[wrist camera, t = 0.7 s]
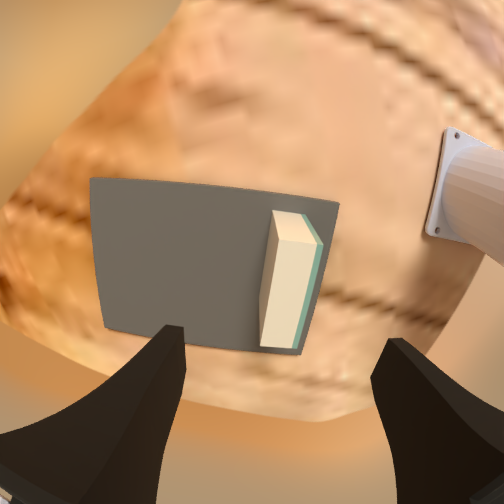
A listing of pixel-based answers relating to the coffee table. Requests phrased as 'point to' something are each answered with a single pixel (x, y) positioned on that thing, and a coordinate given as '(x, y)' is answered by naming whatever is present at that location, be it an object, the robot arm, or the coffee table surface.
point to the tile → (287, 279)
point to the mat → (192, 257)
